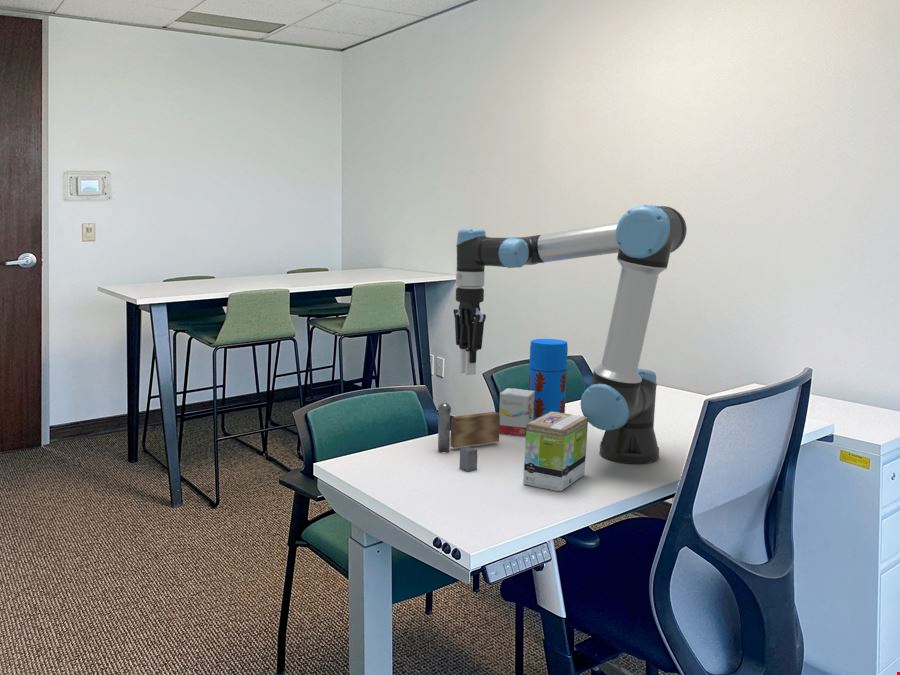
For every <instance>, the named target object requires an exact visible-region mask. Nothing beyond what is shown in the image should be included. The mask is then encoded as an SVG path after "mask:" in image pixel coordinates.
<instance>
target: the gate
mask: <svg viewBox="0 0 900 675" xmlns="http://www.w3.org/2000/svg"><path fill="white" fill-rule="evenodd" d="M499 429H500V415H499V412H496V411H491V412H490V411H489V412H481V413H473V414H465V415H458V416H457V415H456V416H452V418H450V447H452V448H454V449H455V448H456V449H457V448H465V447H472V446H477V445H483V444H491V443H496V442H498V443H499V442H500V433H499Z"/></svg>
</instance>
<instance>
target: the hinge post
mask: <svg viewBox="0 0 900 675" xmlns="http://www.w3.org/2000/svg"><path fill="white" fill-rule="evenodd" d="M437 411H438V423H437V425H438V426H437V427H438V429H437V430H438V434H437V440H438V441H437V452H438V451H439V452H438V453H441V452H447V453H450V447H451V446H450V434H451V412H452V407H451V405H450V403H447V402H442V403H440V404H439V405H438V406H437Z"/></svg>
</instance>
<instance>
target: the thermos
mask: <svg viewBox="0 0 900 675" xmlns="http://www.w3.org/2000/svg"><path fill="white" fill-rule="evenodd" d="M568 346H569V345H568V341H566V340H563V339H555V338H536V339H531V340H530V346H529V369H528V370H529V371H528V390H530V391H535V397H534V415H533V420H535V419H537V418H539V417H541V416H543V415H545V414H547V413H549V412H551V411H552V412H559V413H565V414H566V396H567V394H566V393H567V375H568V374H567V370H568V350H569V349H568Z"/></svg>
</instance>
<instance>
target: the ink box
mask: <svg viewBox="0 0 900 675" xmlns="http://www.w3.org/2000/svg"><path fill="white" fill-rule="evenodd" d="M534 397H535V391H530V390H529V389H521V388H520V389H519V388H513V387H512V388H511V387H510V388H509V387H507V388H505V389H504V390H503V391H501V392H500V393H499V406H498V408H499V410H498V414H499V415H500V429H499V435H508V434H512V435H511V436H517V435H518V437H526V429H527V423H529V422H531V421H533V415H534ZM501 433H502V434H501Z"/></svg>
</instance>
